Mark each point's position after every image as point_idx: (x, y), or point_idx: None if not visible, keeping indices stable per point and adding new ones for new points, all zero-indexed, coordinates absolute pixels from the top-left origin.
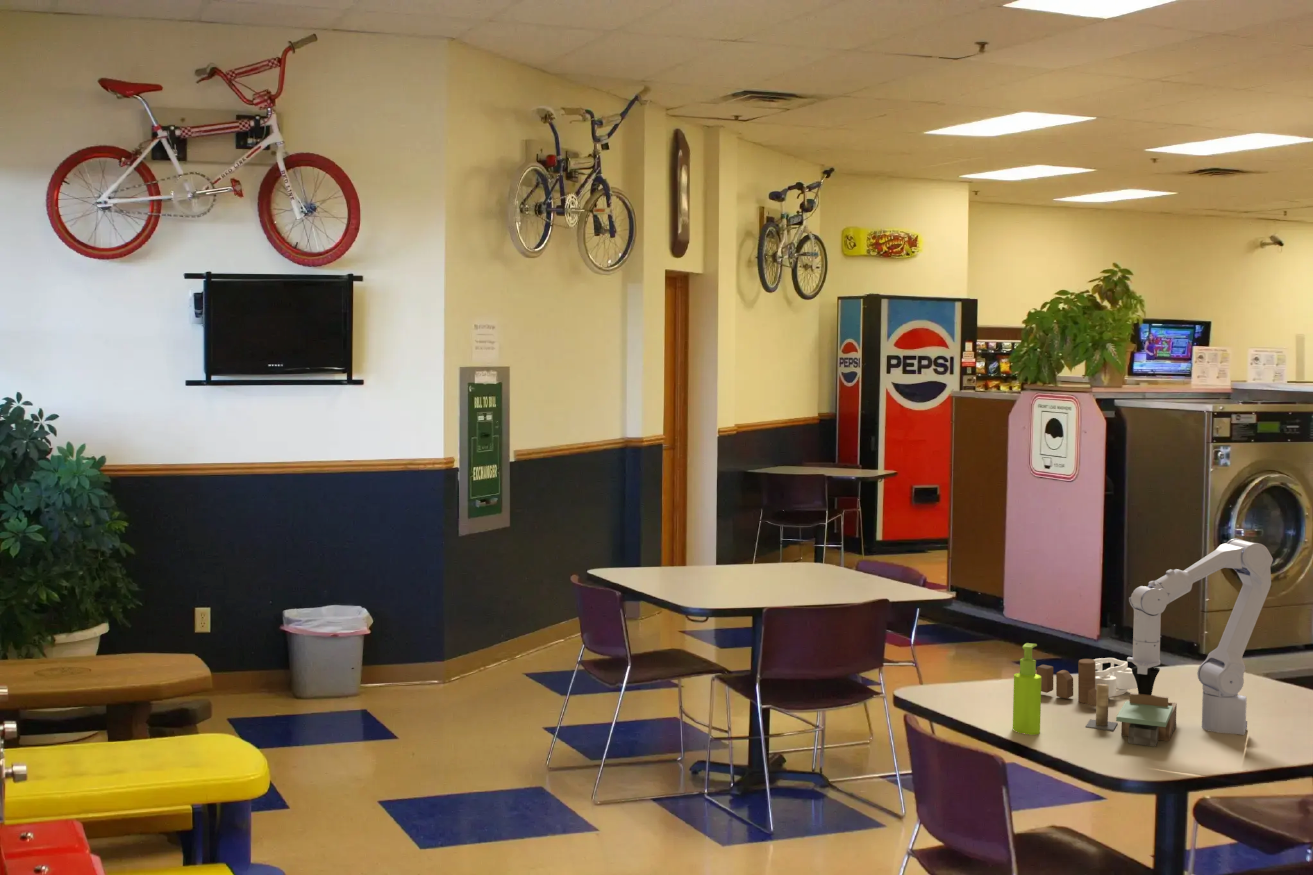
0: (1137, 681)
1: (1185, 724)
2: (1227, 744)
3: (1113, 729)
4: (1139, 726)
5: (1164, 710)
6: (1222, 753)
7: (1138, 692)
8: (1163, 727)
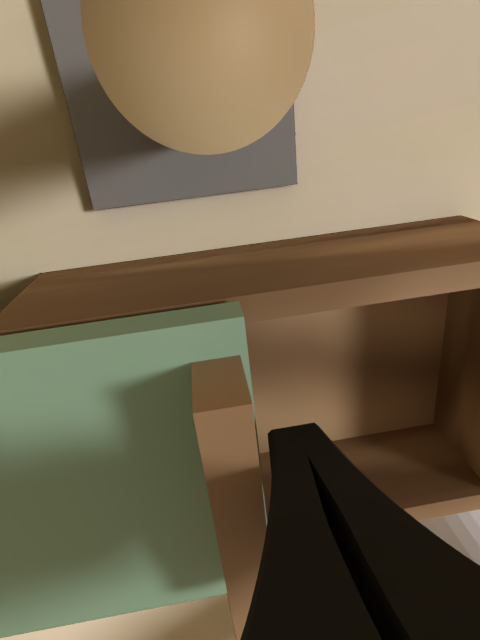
0: (253, 601)
1: None
2: (214, 610)
3: (98, 209)
4: None
5: (114, 588)
6: (71, 632)
7: (274, 470)
8: None
